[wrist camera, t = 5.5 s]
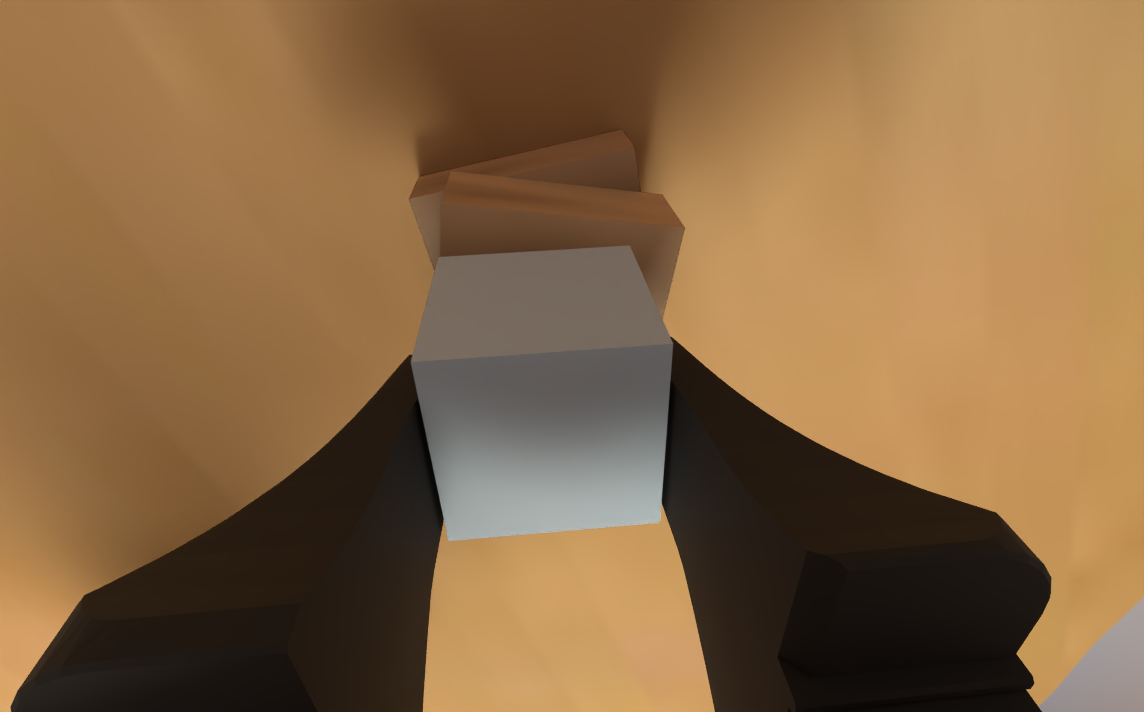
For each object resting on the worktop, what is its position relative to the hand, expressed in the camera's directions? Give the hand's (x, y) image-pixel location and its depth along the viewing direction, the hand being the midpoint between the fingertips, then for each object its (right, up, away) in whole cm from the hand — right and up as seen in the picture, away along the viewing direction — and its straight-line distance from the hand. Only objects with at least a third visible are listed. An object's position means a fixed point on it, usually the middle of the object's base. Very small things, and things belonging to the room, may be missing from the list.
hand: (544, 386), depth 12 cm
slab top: (0, +3, +5) cm, 6 cm away
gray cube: (0, +1, +1) cm, 2 cm away
